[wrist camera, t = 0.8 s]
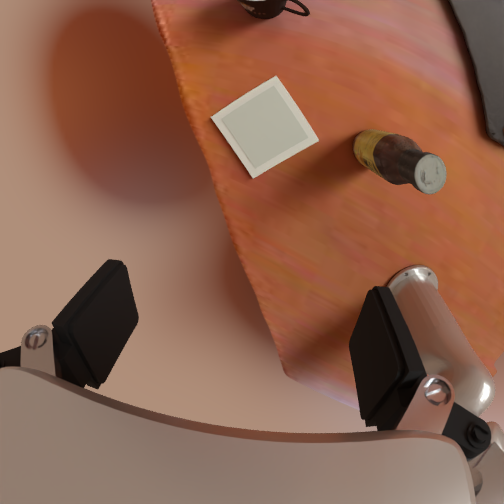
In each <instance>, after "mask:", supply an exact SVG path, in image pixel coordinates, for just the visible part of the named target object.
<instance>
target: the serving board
mask: <svg viewBox="0 0 504 504" xmlns="http://www.w3.org/2000/svg"><path fill="white" fill-rule="evenodd" d="M449 2H450V4H451V6H452V9H453V11H454V14H455V17H456V19H457V21H458V23H459V25H460V27H461V29H462V31H463V34H464V38H465V42H466V45H467V47H468V51H469V54H470V56H471V59H472V63H473V65H474V69H475V75H476V77H477V84H478V87H479V89H480V93H481V95H482V103H483V108H484V114H485V120H486V132H487V134H488V135H489V137H490V138H491V139H493V140H494V141H496V142H498V143H500V144H501V145H503V146H504V0H449Z"/></svg>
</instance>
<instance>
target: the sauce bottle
mask: <svg viewBox="0 0 504 504" xmlns="http://www.w3.org/2000/svg"><path fill="white" fill-rule="evenodd" d="M353 151H354V155H355V157H356V158H357V159H358V161H359V162H360V163H361V164H362V165H363V166H365V167H367V168H368V169H370V170H371V171H373V172H374V173H376V174H377V175H379V176H380V177H382V178H384V179H385V180H387V181H388V182H390V183H392V184H395V185H401V184H407V183H410V184H412V185H413V186H414V187H415V188H416V189H417V190H419V191H421V192H423V193H425V194H433V193H436V192H438V191H439V190H440V189H441V188H442V187H443V185H444V183H445V180H446V168H445V165H444V162H443V161H442V160H441V159H440V158H439V157H438V156H436V155H434V154H432V153H428V152H422V150H421V149H420V147H419V146H418V145H417V144H416V143H415V142H414V141H413V140H411V139H409V138H408V137H405V136H401V135H399V134H394V133H389V132H385V131H380V130H372V129H371V130H365V131H362V132H360V133H359V134H358V135H357V136H356V138H355V139H354V142H353Z"/></svg>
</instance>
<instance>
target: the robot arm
mask: <svg viewBox="0 0 504 504" xmlns="http://www.w3.org/2000/svg"><path fill="white" fill-rule="evenodd" d="M437 289H438V280H437V277H436V275H435V274H434V272H433V271H432V270H431V269H430V268H428V267H426V266H423V265H414V266H410V267H407V268H405V269H403V270H402V271H400V272H399V273H397V274H396V275H395V276H394V277H393V278H392V279H391V281H390V282H389V283H388V285H387V287H380V286H375V287H373V289H372V290H369V291H368V293H367V296H366V299H365V301H364V304H363V307H362V310H361V312H360V315H359V318H358V320H357V323H356V326H355V328H354V331H353V333H352V336H351V338H350V342H349V350H350V355H351V360H352V366H353V371H354V377H355V383H356V389H357V395H358V401H359V408H360V415H361V418H362V419H363V420H365V423H366V427H368V426H369V427H370V426H377V431H370V432H355V433H284V432H269V431H258V430H248V429H240V428H232V427H224V426H218V425H212V424H207V423H201V422H196V421H191V420H186V419H182V418H177V417H173V416H169V415H165V414H161V413H157V412H153V411H150V410H146V409H142V408H139V407H135V406H132V405H129V404H126V403H123V402H120V401H117V400H114V399H111V398H108V397H106V396H103V395H100V394H97V393H95V392H92V391H90V390H87V389H84V387H85V385H86V384H87V385H88V386H90V387H93V388H95V389H99V387H100V385H101V383H104V382H105V381H106V379H107V377H108V375H109V374H110V372H111V370H112V368H113V366H114V364H115V362H116V361H117V359H118V357H119V355H120V353H121V351H122V350H123V348H124V346H125V344H126V343H127V341H128V339H129V337H130V335H131V334H132V332H133V330H134V329H135V327H136V325H137V323H138V318H139V317H138V312H137V308H136V304H135V301H134V297H133V292H132V288H131V284H130V280H129V275H128V271H127V267H126V265H124V264H123V262H122V261H119V260H112V259H109V260H107V261H106V262H105V263H104V264H103V265H102V266H101V267H100V268H99V269H98V270H97V272H96V273H95V274H94V275H93V276H92V277H91V278H90V279H89V280H88V281H87V282H86V283H85V285H84V286H83V287H82V288H81V289H80V290H79V291H78V292H77V294H76V295H75V296H74V297H73V298H72V299H71V300H70V301H69V303H68V304H67V305H66V306H65V307H64V309H63V310H62V311H61V312H60V313H59V314H58V316H57V317H56V318H55V319H54V320H53V322H52V325H53V327H54V328H53V329H52V330H51V329H50V328H49V327H47V326H45V325H39V326H35V327H32V328H31V329H29V330H28V331H27V332H26V333H25V334H24V336H23V338H22V342H21V346H19V347H17V348H14V349H11V350H8V351H5V352H2V353H0V504H504V433H503V431H502V429H501V427H500V426H499V425H498V424H497V423H496V422H487V423H486V422H485V421H484V420H482V419H481V418H479V416H480V415H481V414H482V413H483V412H484V411H485V410H486V409H487V408H488V407H489V406H490V404H491V402H492V401H493V399H494V396H495V383H494V381H493V378H492V376H491V374H490V373H489V371H488V369H487V368H486V367H485V365H484V364H483V363H482V361H481V360H480V359H479V357H478V356H477V355H476V353H475V352H474V350H473V349H472V347H471V346H470V344H469V342H468V340H467V339H466V337H465V335H464V334H463V332H462V330H461V328H460V327H459V325H458V323H457V322H456V320H455V318H454V317H453V315H452V313H451V312H450V310H449V308H448V307H447V305H446V303H445V302H444V300H443V299H442V297H441V296H440V294H439V293H438V291H437ZM427 374H428V376H427Z"/></svg>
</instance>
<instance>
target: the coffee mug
mask: <svg viewBox="0 0 504 504" xmlns="http://www.w3.org/2000/svg"><path fill="white" fill-rule="evenodd" d="M286 1H287V0H238V2H239V3H240V4H241V5H242V6H243V7H244V8H245V10H246V11H247V12H248V13H249V14H250V15H252V16H254V17H256V18H261V19H269V18H273V17H276V16H278V15H279V14H280V13H281V12H282V11H283V10H286V11H289V12H292V13H294V14H297V15H301V16H308V15H309V14H310V12H309V10H308V8H307V7H306V6H304V5H303V4H302V3H301V2H299V1H298V0H289V1H292V2H294V3H296V4H298V5H299V6H300V7H301V8H302V9H303V10H304V11H305V13H302V12H298V11H295V10H292V9H289V8H286V7H285V5H286Z"/></svg>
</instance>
